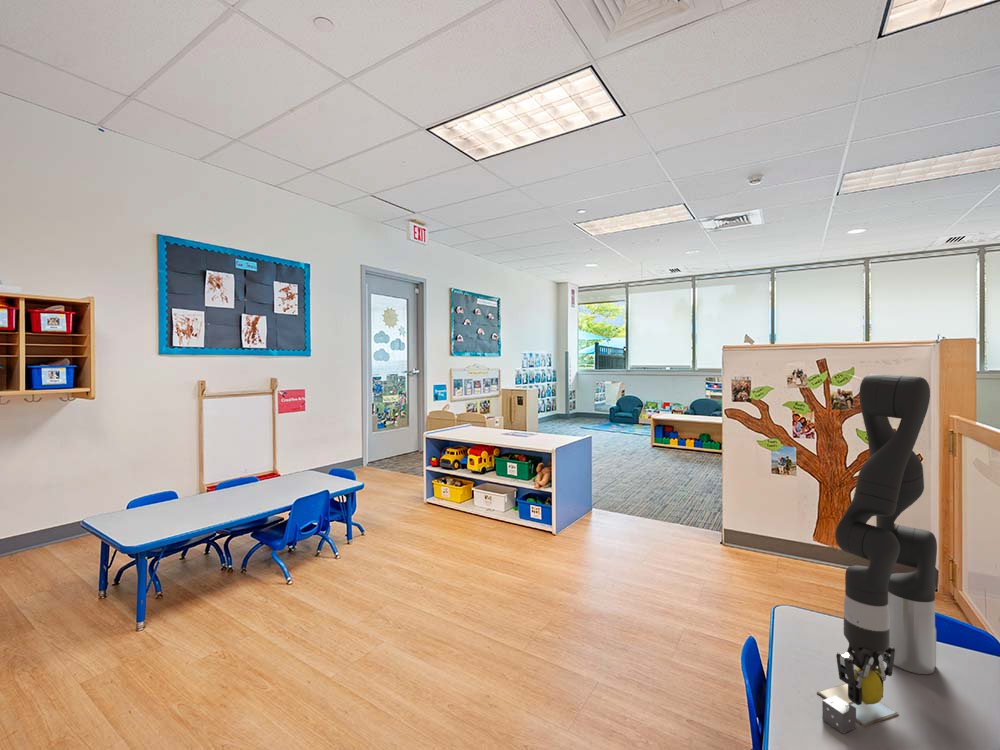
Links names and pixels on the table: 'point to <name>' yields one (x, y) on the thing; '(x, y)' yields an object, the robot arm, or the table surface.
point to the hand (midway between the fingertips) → (865, 698)
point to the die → (839, 714)
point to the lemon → (871, 688)
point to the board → (861, 706)
